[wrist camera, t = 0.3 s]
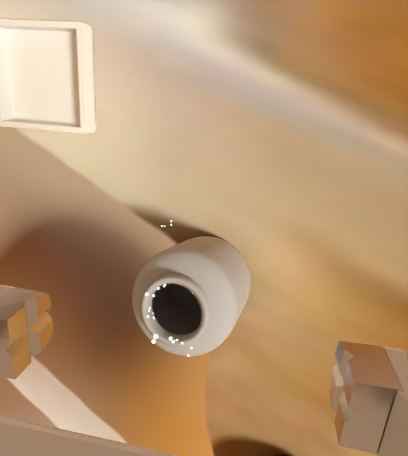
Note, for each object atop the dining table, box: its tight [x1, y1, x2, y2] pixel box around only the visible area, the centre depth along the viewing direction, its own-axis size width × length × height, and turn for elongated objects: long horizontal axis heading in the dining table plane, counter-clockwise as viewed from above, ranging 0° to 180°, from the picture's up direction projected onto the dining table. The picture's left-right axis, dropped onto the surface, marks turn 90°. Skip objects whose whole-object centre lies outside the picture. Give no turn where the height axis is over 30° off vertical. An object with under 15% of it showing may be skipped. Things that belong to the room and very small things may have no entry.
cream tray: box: [0, 19, 97, 134], centre depth 55 cm, size 15×15×4 cm
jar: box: [132, 220, 251, 357], centre depth 50 cm, size 19×15×25 cm
